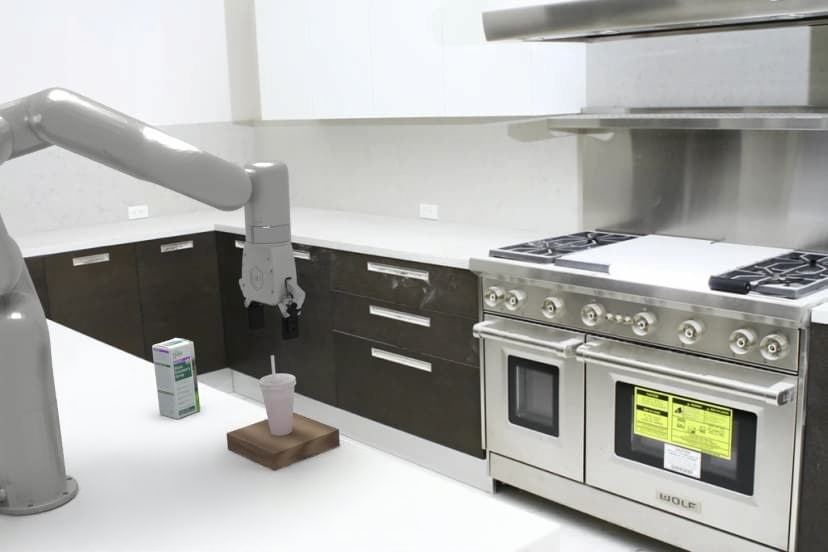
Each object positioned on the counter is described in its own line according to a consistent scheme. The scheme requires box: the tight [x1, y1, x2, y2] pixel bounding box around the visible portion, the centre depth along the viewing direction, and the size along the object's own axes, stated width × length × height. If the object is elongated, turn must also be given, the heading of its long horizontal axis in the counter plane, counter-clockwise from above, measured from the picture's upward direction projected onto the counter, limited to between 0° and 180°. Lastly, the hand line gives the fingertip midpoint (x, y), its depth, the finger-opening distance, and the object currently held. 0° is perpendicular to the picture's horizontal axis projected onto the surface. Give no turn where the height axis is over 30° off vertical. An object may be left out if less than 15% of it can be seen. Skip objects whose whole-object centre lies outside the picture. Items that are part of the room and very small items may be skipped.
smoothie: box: [258, 354, 297, 436], centre depth 155 cm, size 6×6×14 cm
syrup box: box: [151, 337, 201, 420], centre depth 175 cm, size 6×6×14 cm
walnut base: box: [226, 411, 341, 472], centre depth 157 cm, size 14×14×3 cm
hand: (272, 333), depth 153 cm, fingers open, 9 cm apart
